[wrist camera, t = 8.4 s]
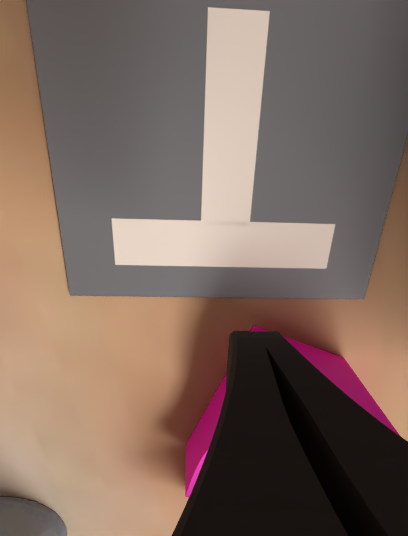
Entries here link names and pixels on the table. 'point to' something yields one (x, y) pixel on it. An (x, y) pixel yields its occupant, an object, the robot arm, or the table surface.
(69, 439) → the table surface
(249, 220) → the board
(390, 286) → the table surface
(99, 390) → the table surface
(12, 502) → the gray cup
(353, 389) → the toy block
